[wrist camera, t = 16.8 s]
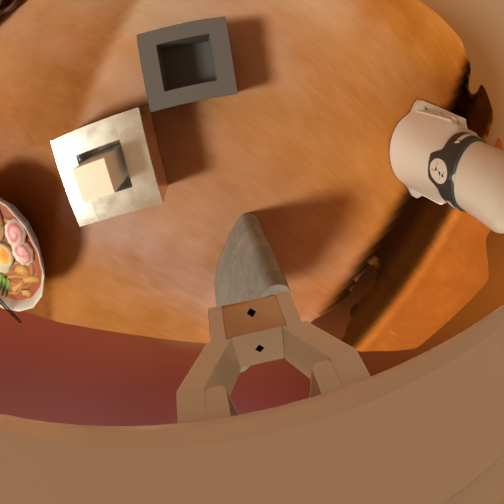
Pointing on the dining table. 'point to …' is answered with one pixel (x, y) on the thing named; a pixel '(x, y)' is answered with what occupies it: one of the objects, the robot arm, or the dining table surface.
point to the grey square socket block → (187, 63)
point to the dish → (1, 6)
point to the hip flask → (247, 266)
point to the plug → (101, 173)
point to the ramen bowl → (19, 261)
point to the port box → (136, 157)
